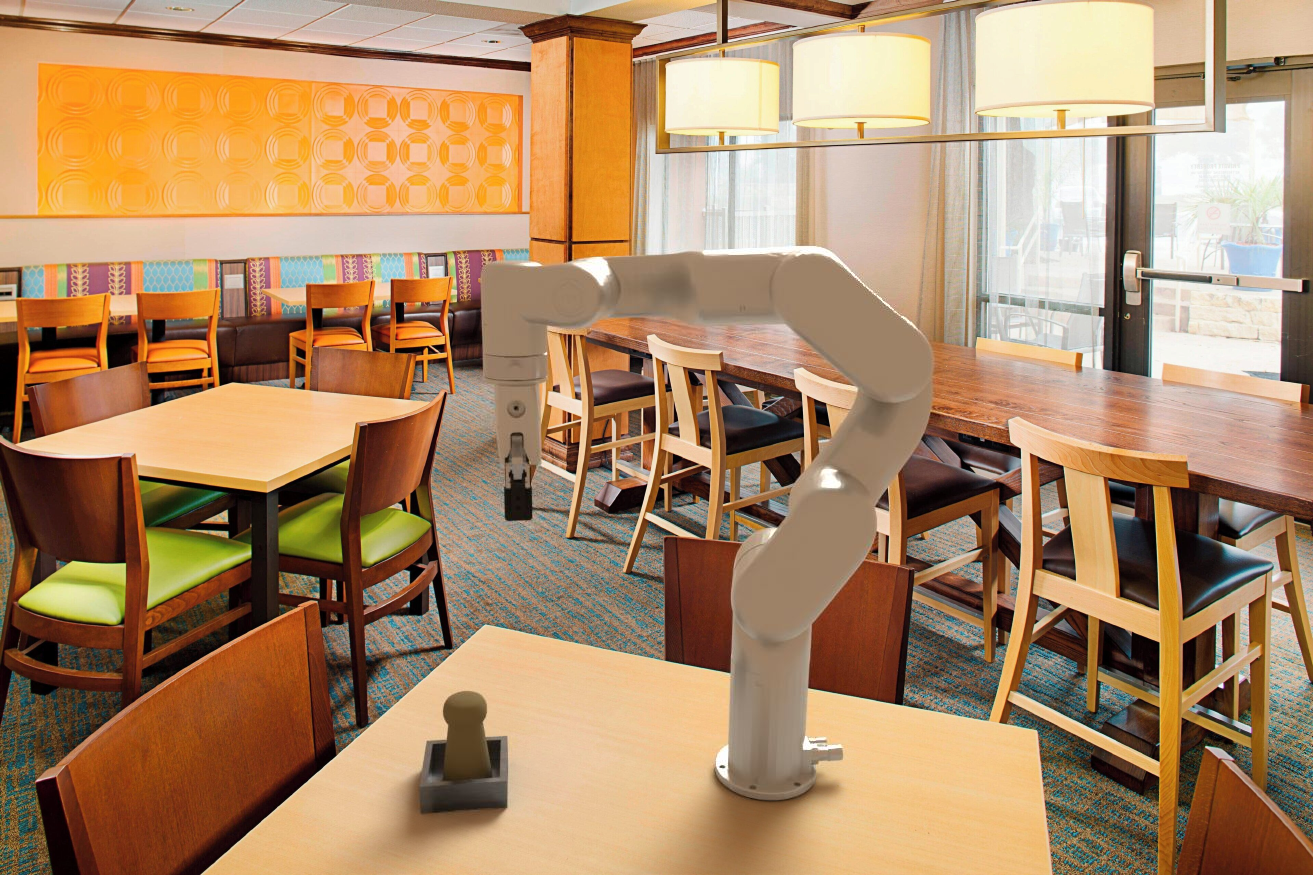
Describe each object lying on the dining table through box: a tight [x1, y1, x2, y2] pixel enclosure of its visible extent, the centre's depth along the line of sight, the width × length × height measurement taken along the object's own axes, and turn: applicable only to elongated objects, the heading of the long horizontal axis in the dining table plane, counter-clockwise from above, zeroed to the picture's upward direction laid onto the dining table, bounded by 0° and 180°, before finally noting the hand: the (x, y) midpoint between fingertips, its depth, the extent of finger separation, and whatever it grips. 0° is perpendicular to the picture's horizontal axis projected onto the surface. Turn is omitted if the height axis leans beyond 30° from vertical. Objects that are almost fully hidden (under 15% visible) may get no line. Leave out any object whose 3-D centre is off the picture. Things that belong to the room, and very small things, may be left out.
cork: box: [442, 690, 492, 781], centre depth 118 cm, size 6×6×11 cm
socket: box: [418, 735, 509, 814], centre depth 120 cm, size 10×10×4 cm
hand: (518, 507), depth 119 cm, fingers open, 9 cm apart
